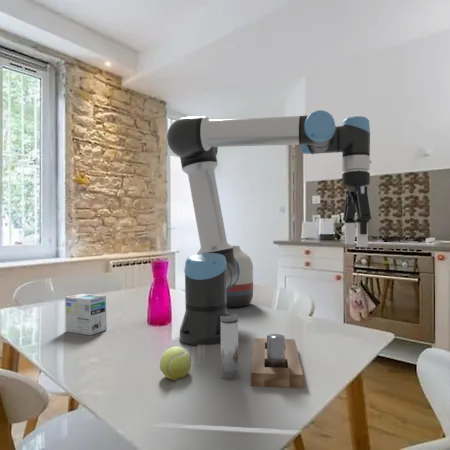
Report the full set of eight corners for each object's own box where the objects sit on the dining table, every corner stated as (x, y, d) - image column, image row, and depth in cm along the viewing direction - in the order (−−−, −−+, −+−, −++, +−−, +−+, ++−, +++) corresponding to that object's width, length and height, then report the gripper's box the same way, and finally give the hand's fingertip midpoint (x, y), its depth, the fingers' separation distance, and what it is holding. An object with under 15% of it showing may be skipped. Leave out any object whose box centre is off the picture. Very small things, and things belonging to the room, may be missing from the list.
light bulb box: (107, 330, 112) (107, 295, 112) (91, 336, 106) (90, 299, 106) (81, 326, 117) (81, 292, 117) (64, 332, 111) (64, 296, 111)
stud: (219, 382, 74) (219, 317, 74) (222, 374, 77) (221, 313, 77) (238, 383, 73) (237, 318, 73) (239, 375, 77) (238, 313, 77)
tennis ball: (194, 347, 75) (180, 338, 81) (164, 358, 72) (152, 348, 77) (198, 376, 76) (184, 366, 81) (169, 389, 72) (156, 377, 78)
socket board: (250, 388, 71) (250, 372, 71) (254, 350, 92) (254, 338, 92) (303, 390, 69) (303, 374, 69) (294, 351, 91) (294, 339, 91)
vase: (227, 299, 158) (226, 244, 158) (261, 303, 148) (260, 245, 148) (202, 306, 144) (201, 246, 145) (238, 311, 135) (237, 247, 135)
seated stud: (267, 378, 74) (266, 339, 74) (267, 371, 78) (267, 333, 78) (285, 379, 74) (284, 339, 74) (284, 372, 77) (284, 334, 77)
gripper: (384, 164, 93) (383, 248, 93) (357, 177, 118) (357, 243, 117) (353, 165, 93) (353, 247, 93) (333, 177, 118) (333, 243, 118)
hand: (355, 245), depth 105 cm, fingers open, 13 cm apart
